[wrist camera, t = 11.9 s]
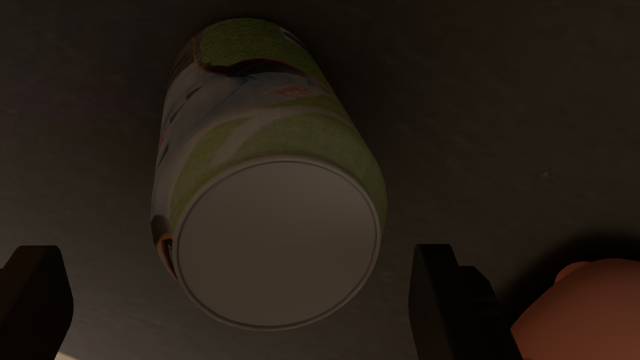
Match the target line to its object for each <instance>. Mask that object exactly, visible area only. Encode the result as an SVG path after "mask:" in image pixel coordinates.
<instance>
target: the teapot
mask: <svg viewBox="0 0 640 360" xmlns="http://www.w3.org/2000/svg"><path fill="white" fill-rule="evenodd" d="M510 330H511V332H512V335H513V337H514V339H515V341H516V344H517V346H518V348H519V351H520V353H521V355H522V357H523V360H640V262H639V261H634V260H627V259H620V258H608V259H602V260H597V261H594V262H586V261H582V262H576V263H573V264H570V265H568V266H567V267H565V268H564V269H562V270H561V271H560V272H559V273H558V275H557V277H556V279H555V283H554V285H553V286H552V287H551V288H549V289H548V290H547V291H546V292H545V293H544V294H542V295H541V296H540V297H539V298H538V299H537V300H536V301H535V302H534V303H532V304H531V305H530V306H529V307H528V308H527V309H526V310H525V311H524V313H523V314H522V315H521V316H520V317H519V318H518V319H517V321H516V322H515V323H514V324H513V325H512V327H511V328H510Z"/></svg>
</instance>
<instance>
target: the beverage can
mask: <svg viewBox="0 0 640 360" xmlns="http://www.w3.org/2000/svg"><path fill="white" fill-rule="evenodd" d="M386 214H387V196H386V188H385V182H384V179H383V176H382V173H381V171H380V168H379V165H378V163H377V161H376V160H375V158H374V156H373V155H372V153H371V151H370V150H369V148H368V147H367V145H366V143H365V142H364V140H363V138H362V137H361V135H360V133H359V132H358V130H357V129H356V127H355V125H354V124H353V122H352V120H351V119H350V117H349V116H348V114H347V112H346V111H345V109H344V107H343V106H342V104H341V102H340V101H339V99H338V98H337V96H336V94H335V93H334V91H333V89H332V88H331V86H330V85H329V83H328V81H327V80H326V78H325V76H324V75H323V73H322V71H321V70H320V68H319V67H318V65H317V63H316V62H315V60H314V58H313V57H312V55H311V54H310V52H309V50H308V49H307V48H306V46H305V45H304V44H303V43H302V42H301V41H300V40H299V39H298V38H297V37H296V36H294V35H293V34H292V33H291V32H289V31H288V30H286V29H284V28H282V27H280V26H279V25H277V24H274V23H271V22H268V21H265V20H261V19H253V18H233V19H229V20H224V21H220V22H217V23H215V24H213V25H210V26H208V27H206V28H204V29H203V30H201V31H200V32H198V33H197V34H195V35H194V36H193V37H192V38H191V39H190V40H189V41H188V42H187V43H186V44H184V46H183V47H182V49H181V50H180V51H179V53H178V54H177V56H176V58H175V60H174V62H173V64H172V66H171V68H170V72H169V76H168V80H167V87H166V95H165V102H164V110H163V117H162V125H161V132H160V140H159V148H158V155H157V163H156V170H155V178H154V185H153V193H152V201H151V218H150V223H151V229H152V235H153V241H154V244H155V246H156V249H157V251H158V254H159V256H160V259H161V261H162V262H163V264H164V265H165V267H166V268H167V270H168V271H169V273H170V274H171V276H172V277H173V278H174V279H175V280H176V281H177V282H178V283H179V284H180V285H181V287H182V288H183V290H184V291H185V293H186V294H187V296H188V297H189V298H190V299H191V301H192V302H193V303H194V304H195V305H196V306H197V307H198V308H199V309H201V310H202V311H204V312H205V313H207V314H208V315H209V316H211V317H212V318H214V319H217V320H219V321H221V322H223V323H225V324H228V325H231V326H234V327H238V328H241V329H247V330H254V331H279V330H287V329H293V328H297V327H300V326H304V325H308V324H310V323H313V322H315V321H318V320H320V319H322V318H324V317H326V316H328V315H330V314H331V313H333V312H335V311H336V310H338V309H339V308H341V307H342V306H343V305H344V304H346V303H347V302H348V301H349V300H351V299H352V297H353V296H354V295H355V294H356V293H357V292H358V291H359V290H360V289H361V288H362V286H363V285H364V284H365V282H366V281H367V279H368V278H369V276H370V274H371V272H372V270H373V268H374V266H375V264H376V261H377V257H378V254H379V250H380V241H381V238H382V234H383V231H384V227H385V223H386Z"/></svg>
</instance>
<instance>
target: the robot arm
mask: <svg viewBox="0 0 640 360" xmlns="http://www.w3.org/2000/svg"><path fill="white" fill-rule="evenodd" d="M408 307H409V319H410V324H411V329H412V333H413V337H414V341H415V346H416V350H417V354H418V358H419V360H523V357H522V355H521V353H520V351H519V348H518V346H517V344H516V341H515V339H514V337H513V335H512V332H511V330H510V328H509V325H508V323H507V321H506V319H505V316H503V312H502V309H501V307H500V305H499V303H498V302H497V298H496V296H495V293H494V291H493V289H492V287H491V284H490V282H489V281H488V280H487V279H486V278H485V277H484V276H483V275H482V274H481V273H480V272H479V271H478V270H477V269H476V268H475V267H474V266H458V263H457V261H456V258H455V255H454V253H453V250H452V248H451V246H450V245H449V244H417V245H416V247H415V250H414V258H413V266H412V274H411V281H410V289H409V300H408ZM73 308H74V305H73V296H72V292H71V289H70V285H69V281H68V277H67V273H66V269H65V266H64V262H63V258H62V254H61V251H60V249H59V248H58V247H57V246H55V245H51V246H19V247H18V248H17V249H16V250H15V251H14V253H13V254H12V256H11V257H10V259H9V260H8V262H7V263H6V264H5V266H4V267H3V269H0V360H54V359H55V357H56V355H57V353H58V351H59V348H60V346H61V344H62V342H63V340H64V338H65V336H66V334H67V331H68V329H69V327H70V325H71V321H72V317H73Z"/></svg>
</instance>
